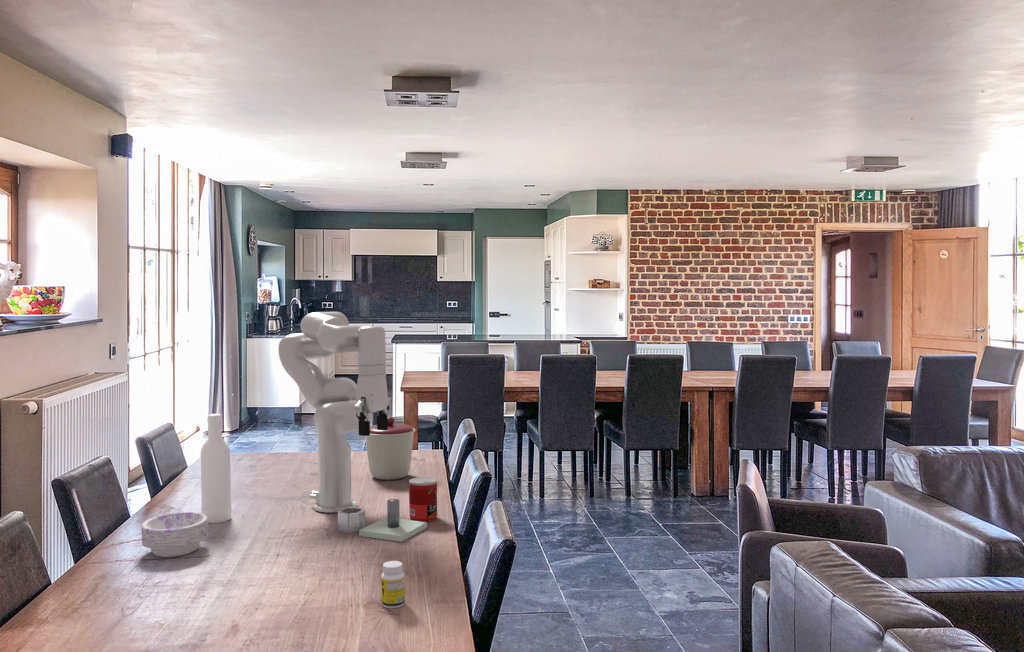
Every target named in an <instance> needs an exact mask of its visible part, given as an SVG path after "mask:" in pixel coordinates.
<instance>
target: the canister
mask: <svg viewBox="0 0 1024 652" xmlns="http://www.w3.org/2000/svg"><path fill="white" fill-rule="evenodd" d="M414 433H416V429H415V428H414V427H413V426H411V425H410V424H405V423H397V422H396V423H395V418H394V417H393V416H388V430H378V429H377V424H374V425H371V426H370V435H369V436H364V437H365V444H366V452H367V461H368V467H369V468H368V469H369V472H370V475H371V476H372V477H373V478H375V479H377V480H382V481H393V480H400V479H402V478H405V477H407V476H408V475H409V473H410V469H411V464H412V463H411V462H412V454H413V445H414Z"/></svg>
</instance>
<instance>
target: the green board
mask: <svg viewBox="0 0 1024 652" xmlns="http://www.w3.org/2000/svg"><path fill="white" fill-rule="evenodd" d="M427 526H428V522H420V521H413V520H411V519H403V518H400V526H399V527H397V528H389V527H388V523H387V517H386V516H385V517H383V518H381V519H379V520H377V521H375V522H373V523H371V524H369V525H368V526H367V525H366V527H365V528H363V529H361V530H359V532H358V534H359V537H365V538H372V539H380V540H388V541H393V542H399V543H400V542H404V541H406V540H407V539H409V538H411V537H413V536H415V535H416V534H418V533H420V532H423V530H426V529H427Z"/></svg>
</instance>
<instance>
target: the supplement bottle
mask: <svg viewBox="0 0 1024 652" xmlns="http://www.w3.org/2000/svg"><path fill="white" fill-rule="evenodd" d="M403 570H404V568H403V562H401V561H399V560H389V561H385V562H384V563H383V564H382V573H381V576H380V579H381V605H382V607H383V608H386V609H399V608H402V607H403V606H404V605H405V603H406V596H405V595H406V593H405V592H406V591H405V589H406V588H405V587H406V586H405V585H406V584H405V580H406V578H405V572H403Z"/></svg>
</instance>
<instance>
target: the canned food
mask: <svg viewBox="0 0 1024 652" xmlns="http://www.w3.org/2000/svg"><path fill="white" fill-rule="evenodd" d="M408 503H409V506H408V507H409V509H408V512H409V520H412V521H420V522H427V523H428V522H432V521H435V520H436V519H437V517H438V481H437V479H436V478H434V477H429V476H428V477H427V476H422V477H421V476H420V477H413V478H410V479H409V480H408Z"/></svg>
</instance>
